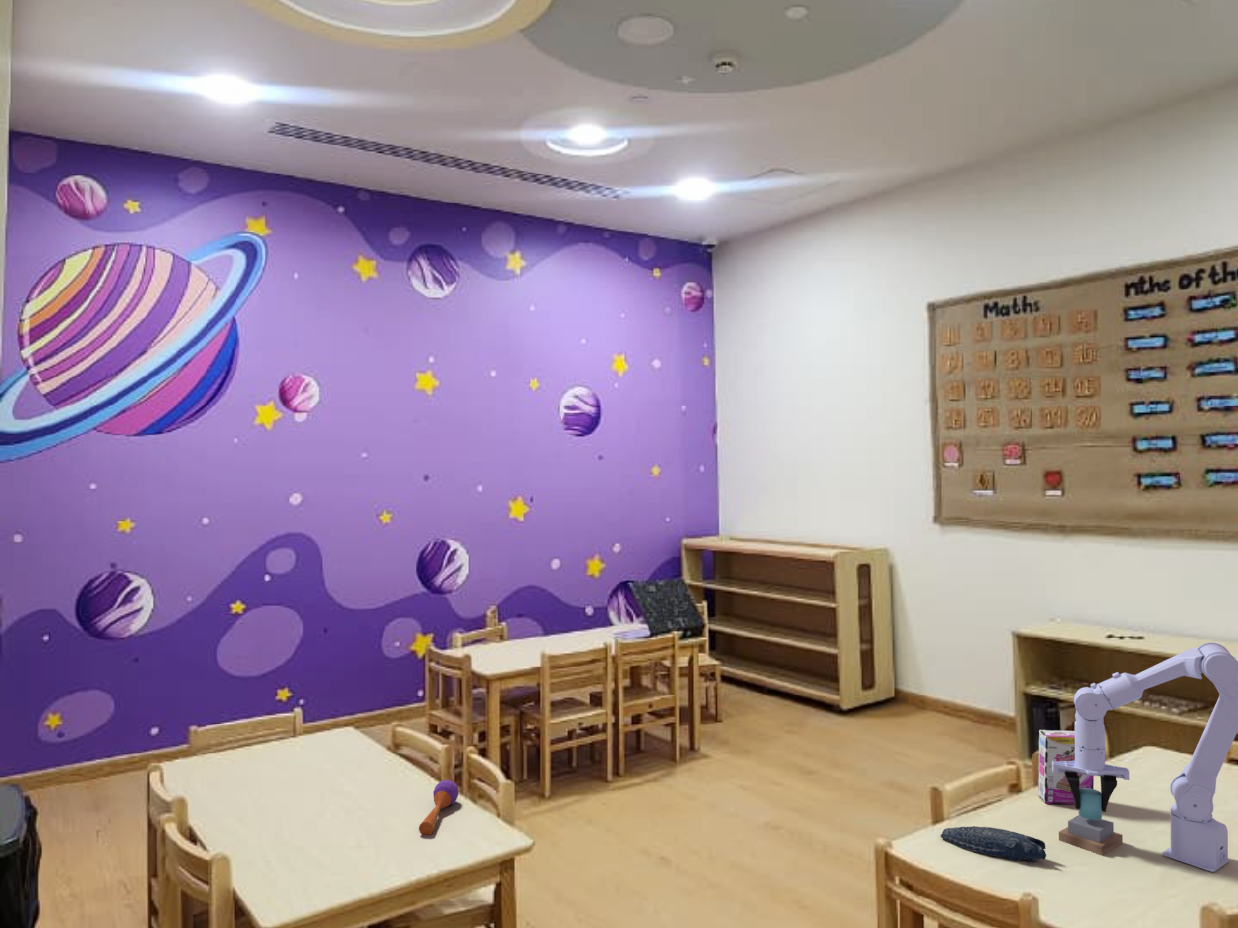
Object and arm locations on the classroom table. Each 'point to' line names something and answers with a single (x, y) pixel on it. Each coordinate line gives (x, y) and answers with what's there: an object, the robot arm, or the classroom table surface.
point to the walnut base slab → (1091, 842)
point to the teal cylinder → (1090, 804)
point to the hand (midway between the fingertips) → (1090, 808)
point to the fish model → (996, 842)
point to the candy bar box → (1055, 784)
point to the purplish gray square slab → (1091, 828)
